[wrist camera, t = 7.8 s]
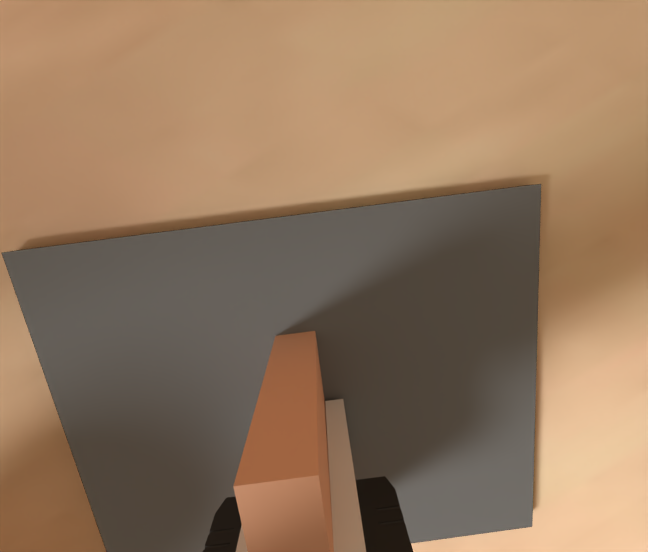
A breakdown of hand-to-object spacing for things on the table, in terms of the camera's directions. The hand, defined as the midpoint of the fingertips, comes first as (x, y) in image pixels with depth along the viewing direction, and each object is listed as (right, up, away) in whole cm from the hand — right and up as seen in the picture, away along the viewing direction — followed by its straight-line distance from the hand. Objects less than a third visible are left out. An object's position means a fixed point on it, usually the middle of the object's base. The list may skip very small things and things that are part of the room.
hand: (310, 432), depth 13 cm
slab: (0, 0, 0) cm, 0 cm away
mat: (0, +1, +1) cm, 1 cm away
